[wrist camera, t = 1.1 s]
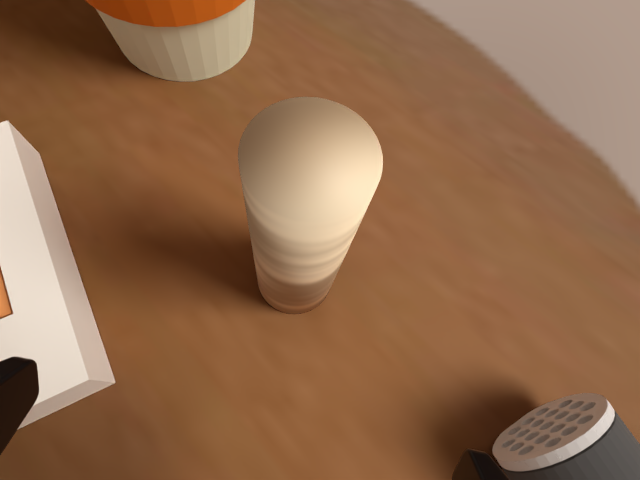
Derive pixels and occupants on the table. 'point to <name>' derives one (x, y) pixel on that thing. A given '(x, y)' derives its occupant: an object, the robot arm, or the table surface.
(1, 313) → the breaker button
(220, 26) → the reusable coffee cup
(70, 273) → the frame
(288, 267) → the cream ridged cylinder
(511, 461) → the grey shaker
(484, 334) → the table surface
